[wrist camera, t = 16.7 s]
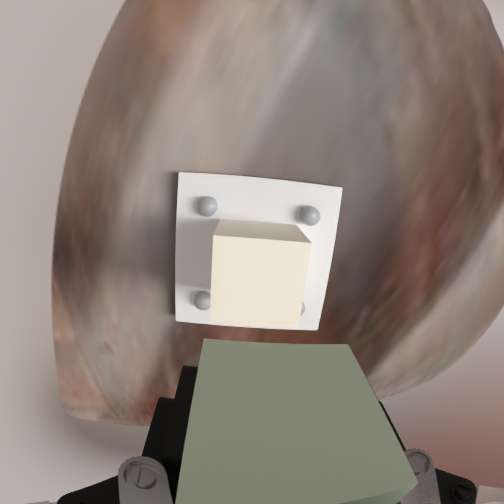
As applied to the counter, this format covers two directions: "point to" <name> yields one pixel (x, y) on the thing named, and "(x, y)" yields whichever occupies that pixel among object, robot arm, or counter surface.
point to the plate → (249, 209)
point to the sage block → (288, 429)
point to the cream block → (258, 273)
